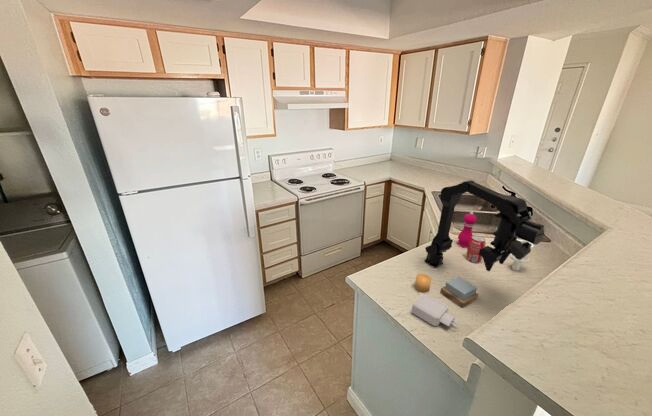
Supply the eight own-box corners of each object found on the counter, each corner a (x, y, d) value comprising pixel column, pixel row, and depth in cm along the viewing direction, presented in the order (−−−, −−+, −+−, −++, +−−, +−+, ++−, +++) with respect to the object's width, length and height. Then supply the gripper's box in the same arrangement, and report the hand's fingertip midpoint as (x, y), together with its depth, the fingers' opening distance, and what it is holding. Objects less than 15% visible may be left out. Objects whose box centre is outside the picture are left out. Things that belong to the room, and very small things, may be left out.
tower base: (439, 293, 110) (441, 288, 109) (454, 286, 115) (456, 280, 114) (461, 309, 102) (463, 303, 101) (477, 300, 107) (478, 294, 106)
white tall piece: (507, 262, 131) (515, 235, 125) (524, 267, 127) (534, 240, 121) (506, 269, 126) (515, 241, 120) (524, 275, 122) (534, 246, 116)
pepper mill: (458, 240, 151) (465, 208, 143) (472, 244, 147) (480, 211, 140) (455, 245, 146) (462, 212, 138) (469, 249, 142) (478, 215, 134)
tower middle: (445, 288, 109) (446, 282, 108) (457, 282, 113) (459, 276, 111) (462, 300, 102) (464, 294, 101) (475, 293, 106) (477, 287, 105)
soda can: (476, 255, 137) (481, 234, 132) (483, 263, 130) (490, 241, 126) (462, 255, 137) (467, 234, 132) (469, 263, 130) (475, 241, 125)
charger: (451, 338, 89) (410, 313, 99) (461, 323, 95) (422, 301, 105) (453, 327, 88) (412, 303, 98) (464, 313, 93) (424, 292, 103)
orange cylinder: (411, 286, 114) (413, 276, 112) (421, 281, 117) (422, 272, 115) (422, 294, 109) (424, 284, 107) (432, 289, 112) (434, 279, 110)
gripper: (517, 248, 86) (503, 287, 92) (543, 234, 95) (529, 270, 101) (483, 234, 95) (473, 270, 101) (510, 222, 104) (499, 256, 110)
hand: (494, 267), depth 103 cm, fingers open, 9 cm apart
